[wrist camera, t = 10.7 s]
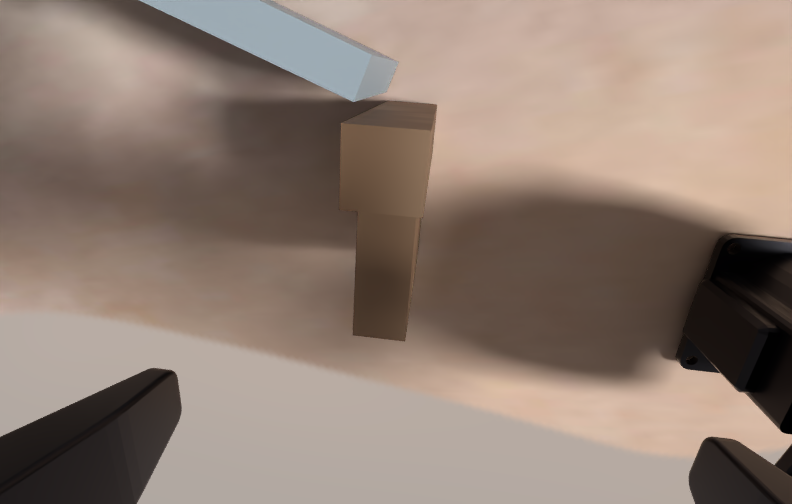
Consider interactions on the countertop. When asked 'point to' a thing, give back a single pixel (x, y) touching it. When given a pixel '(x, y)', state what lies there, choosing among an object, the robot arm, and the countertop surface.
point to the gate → (289, 43)
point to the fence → (386, 208)
